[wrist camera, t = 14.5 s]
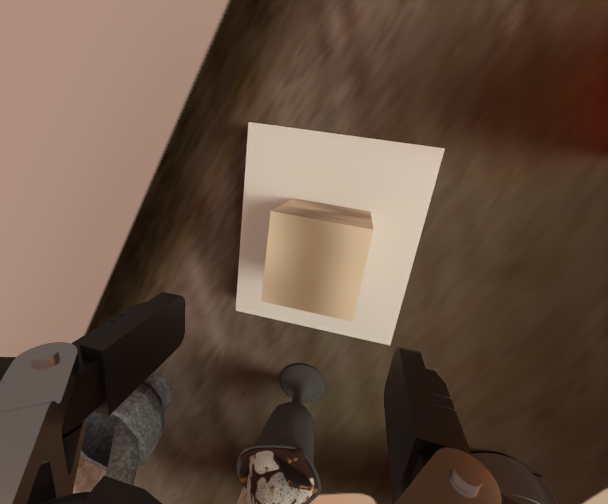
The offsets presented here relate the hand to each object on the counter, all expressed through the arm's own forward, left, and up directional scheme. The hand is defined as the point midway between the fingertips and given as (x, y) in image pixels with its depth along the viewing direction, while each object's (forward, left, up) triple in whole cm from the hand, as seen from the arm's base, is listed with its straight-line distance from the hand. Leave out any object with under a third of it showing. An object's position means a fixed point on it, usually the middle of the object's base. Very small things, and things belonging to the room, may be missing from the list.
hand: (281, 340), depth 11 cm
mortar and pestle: (+18, +24, -17) cm, 34 cm away
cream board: (0, 0, -16) cm, 16 cm away
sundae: (0, +17, -17) cm, 24 cm away
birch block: (0, 0, -13) cm, 13 cm away
